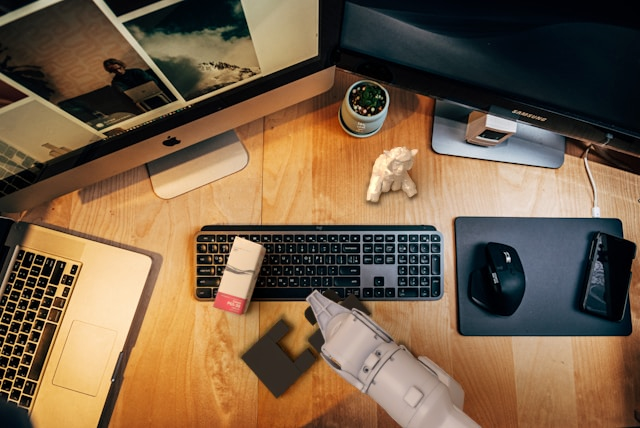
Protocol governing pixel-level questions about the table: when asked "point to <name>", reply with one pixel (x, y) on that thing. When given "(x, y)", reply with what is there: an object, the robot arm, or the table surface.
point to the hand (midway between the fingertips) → (341, 327)
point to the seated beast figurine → (392, 173)
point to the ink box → (239, 276)
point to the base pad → (276, 361)
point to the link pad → (348, 303)
